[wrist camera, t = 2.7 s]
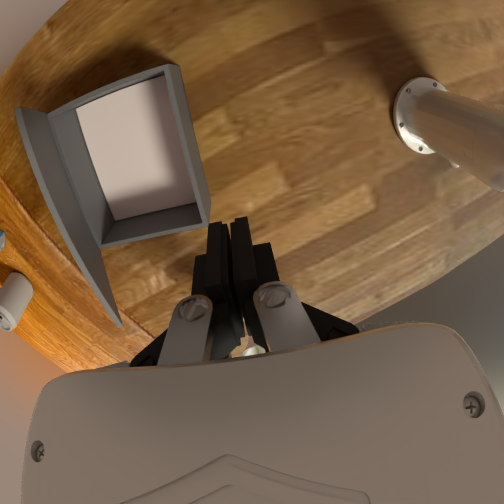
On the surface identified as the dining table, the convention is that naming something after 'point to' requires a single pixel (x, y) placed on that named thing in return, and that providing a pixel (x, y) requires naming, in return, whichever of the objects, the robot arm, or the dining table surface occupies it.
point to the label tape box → (2, 240)
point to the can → (14, 300)
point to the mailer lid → (64, 203)
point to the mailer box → (134, 158)
